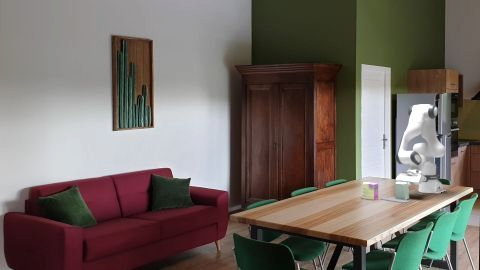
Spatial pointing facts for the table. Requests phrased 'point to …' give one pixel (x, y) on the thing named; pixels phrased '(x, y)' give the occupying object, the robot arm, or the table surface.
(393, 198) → the mat
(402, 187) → the block
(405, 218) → the table surface
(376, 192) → the box
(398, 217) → the table surface
